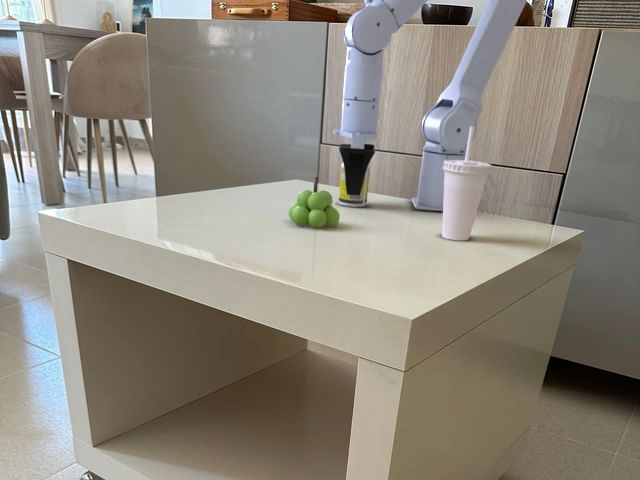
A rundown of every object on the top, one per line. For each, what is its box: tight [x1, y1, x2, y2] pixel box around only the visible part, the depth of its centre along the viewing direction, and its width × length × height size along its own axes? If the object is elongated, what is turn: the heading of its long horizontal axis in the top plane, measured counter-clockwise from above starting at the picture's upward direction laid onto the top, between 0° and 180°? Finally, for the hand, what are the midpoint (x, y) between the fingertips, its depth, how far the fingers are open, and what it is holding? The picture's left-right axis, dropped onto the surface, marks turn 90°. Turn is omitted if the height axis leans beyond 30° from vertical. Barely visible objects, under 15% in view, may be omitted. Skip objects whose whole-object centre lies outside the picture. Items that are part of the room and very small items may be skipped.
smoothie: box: [441, 127, 493, 242], centre depth 84 cm, size 6×6×14 cm
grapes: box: [288, 175, 341, 229], centre depth 87 cm, size 7×7×6 cm
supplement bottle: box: [338, 162, 371, 208], centre depth 103 cm, size 5×5×8 cm
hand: (353, 192), depth 104 cm, fingers closed on supplement bottle, 5 cm apart
